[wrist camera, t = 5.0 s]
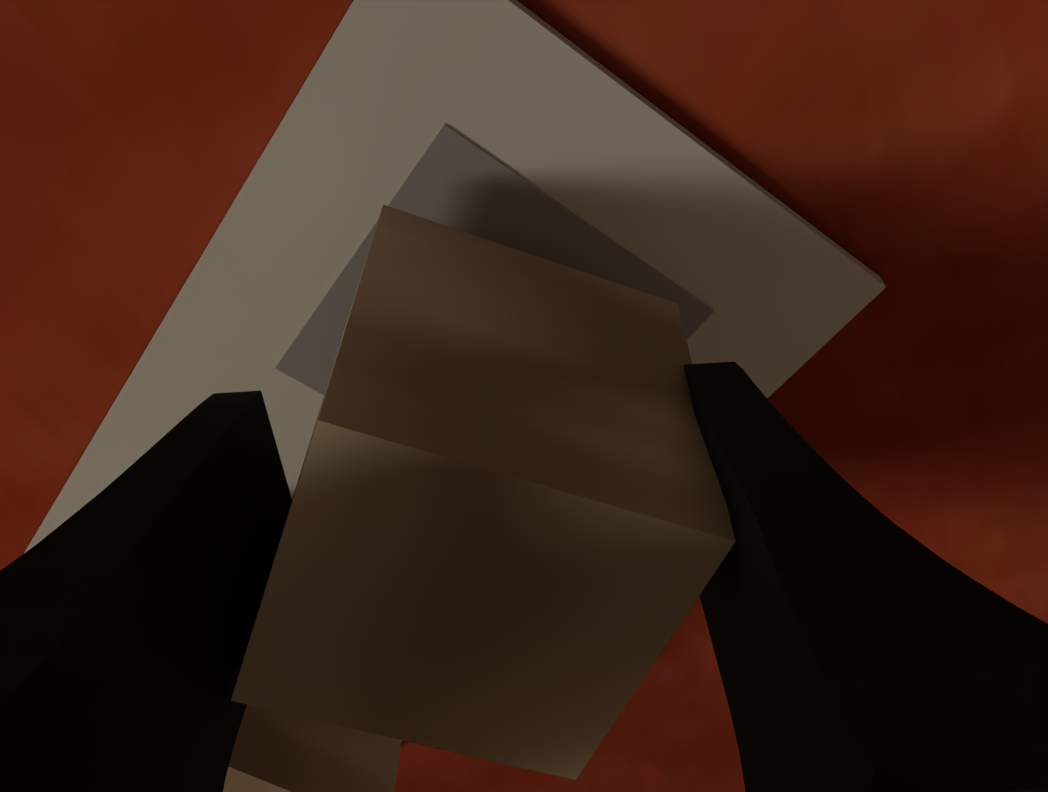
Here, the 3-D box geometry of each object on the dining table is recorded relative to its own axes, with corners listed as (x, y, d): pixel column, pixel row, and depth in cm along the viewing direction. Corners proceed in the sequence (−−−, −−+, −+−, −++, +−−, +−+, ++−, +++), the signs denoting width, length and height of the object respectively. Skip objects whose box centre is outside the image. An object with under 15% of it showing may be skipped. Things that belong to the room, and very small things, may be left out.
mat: (880, 277, 14) (887, 288, 14) (350, 778, 21) (348, 793, 21) (404, -86, 11) (401, -80, 11) (-19, 624, 19) (-28, 639, 18)
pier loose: (677, 303, 13) (736, 541, 9) (565, 518, 15) (575, 780, 11) (382, 204, 12) (318, 420, 8) (308, 444, 14) (230, 700, 11)
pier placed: (421, 592, 17) (389, 831, 14) (310, 708, 19) (256, 945, 16) (214, 488, 16) (116, 721, 12) (117, 624, 18) (7, 861, 14)
